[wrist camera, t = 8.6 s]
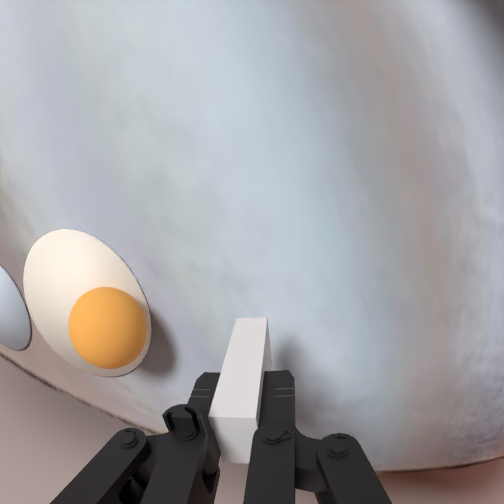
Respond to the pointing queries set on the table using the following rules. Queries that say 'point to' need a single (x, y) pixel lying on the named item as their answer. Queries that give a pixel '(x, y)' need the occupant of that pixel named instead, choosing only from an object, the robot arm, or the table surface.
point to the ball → (107, 327)
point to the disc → (75, 289)
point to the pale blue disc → (13, 314)
